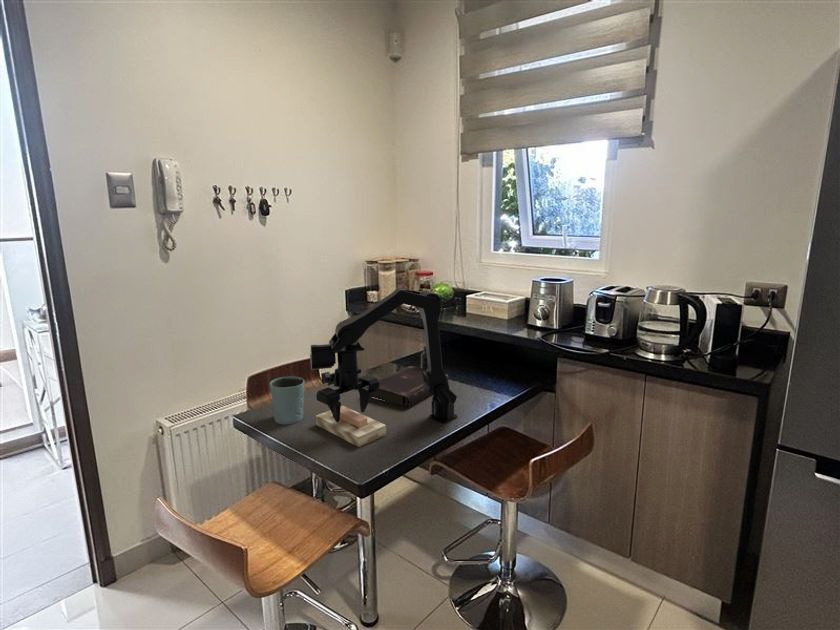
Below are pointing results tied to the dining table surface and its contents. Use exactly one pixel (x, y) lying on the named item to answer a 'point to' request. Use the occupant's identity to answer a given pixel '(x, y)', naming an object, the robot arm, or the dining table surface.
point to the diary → (403, 387)
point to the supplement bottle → (424, 359)
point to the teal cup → (287, 399)
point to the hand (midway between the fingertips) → (350, 416)
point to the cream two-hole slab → (352, 428)
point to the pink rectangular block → (352, 418)
